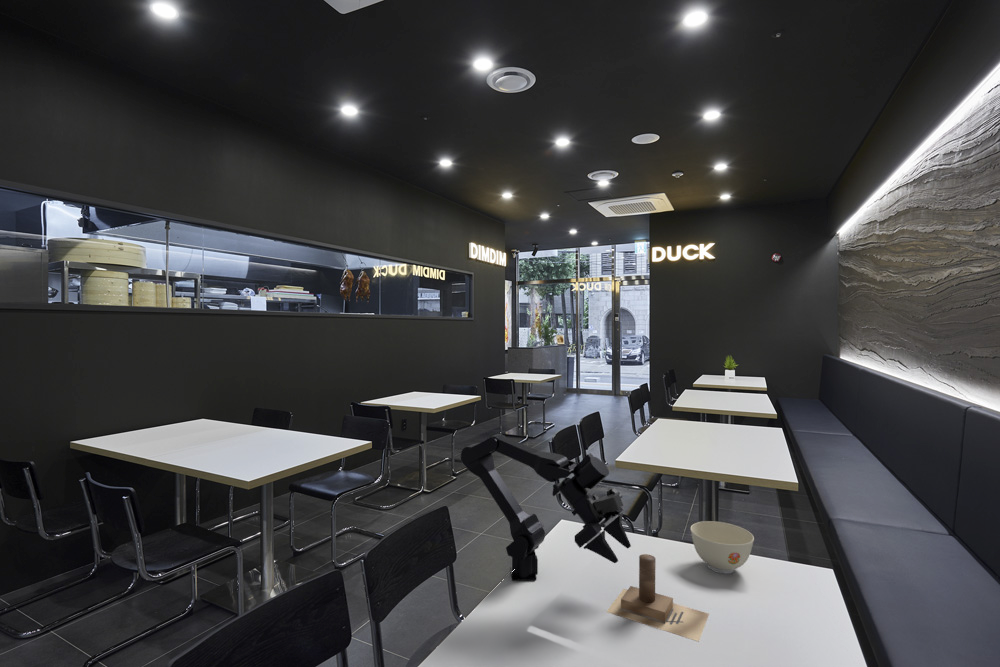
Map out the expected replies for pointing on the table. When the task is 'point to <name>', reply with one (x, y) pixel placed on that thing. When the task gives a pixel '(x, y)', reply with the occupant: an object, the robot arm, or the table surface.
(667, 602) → the block
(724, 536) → the bowl
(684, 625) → the oak board
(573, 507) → the robot arm
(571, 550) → the table surface
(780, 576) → the table surface
